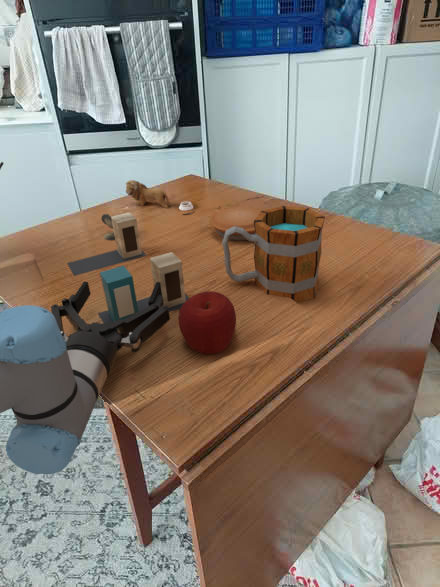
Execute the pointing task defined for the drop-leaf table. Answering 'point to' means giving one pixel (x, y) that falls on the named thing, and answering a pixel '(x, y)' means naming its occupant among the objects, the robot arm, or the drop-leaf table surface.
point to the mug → (283, 252)
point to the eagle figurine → (108, 222)
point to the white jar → (186, 207)
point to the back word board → (99, 262)
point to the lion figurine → (146, 193)
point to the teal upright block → (119, 293)
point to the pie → (235, 221)
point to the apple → (207, 322)
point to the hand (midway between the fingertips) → (122, 287)
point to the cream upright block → (169, 278)
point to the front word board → (141, 305)
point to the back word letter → (126, 235)
